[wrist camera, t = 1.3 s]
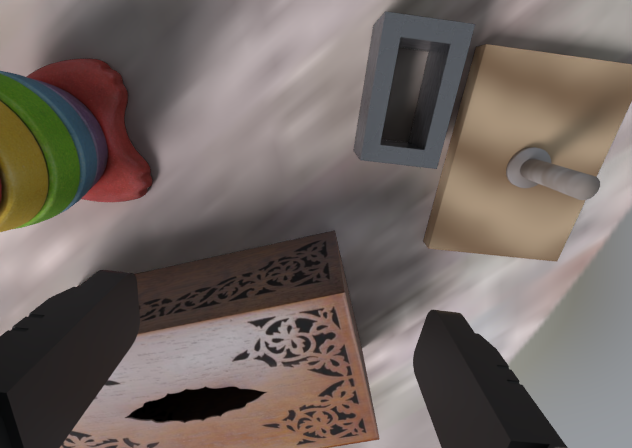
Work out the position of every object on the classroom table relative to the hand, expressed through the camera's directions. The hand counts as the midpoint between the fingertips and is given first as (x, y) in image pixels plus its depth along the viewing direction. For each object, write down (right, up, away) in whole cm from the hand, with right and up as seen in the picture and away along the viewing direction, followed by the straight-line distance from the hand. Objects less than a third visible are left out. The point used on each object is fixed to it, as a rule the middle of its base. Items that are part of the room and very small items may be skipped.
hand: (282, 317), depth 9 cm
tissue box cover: (-8, -7, +24) cm, 27 cm away
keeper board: (+18, +8, +18) cm, 26 cm away
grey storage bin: (+7, +12, +16) cm, 21 cm away
